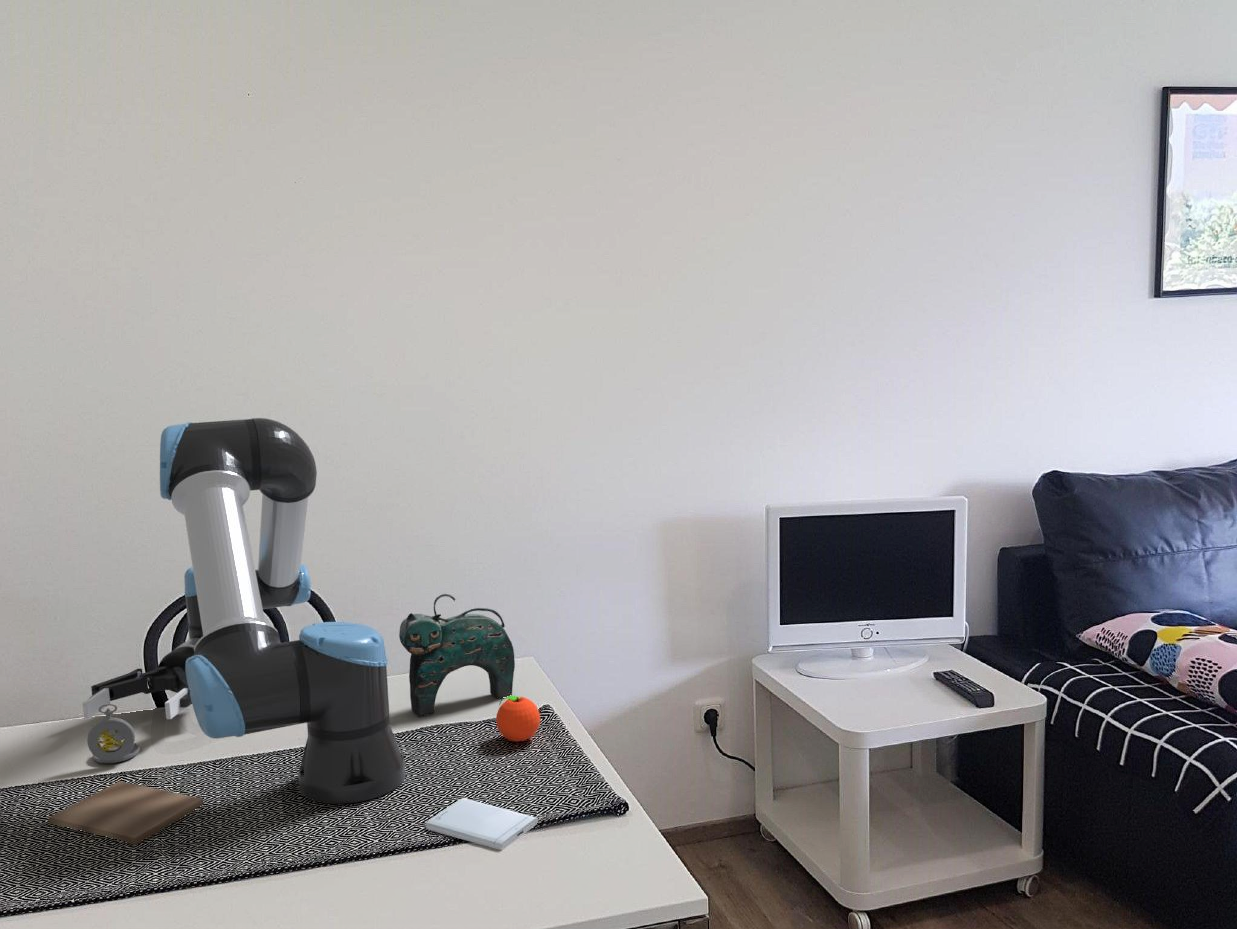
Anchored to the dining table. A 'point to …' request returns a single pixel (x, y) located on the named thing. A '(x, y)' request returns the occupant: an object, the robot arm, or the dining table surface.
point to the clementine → (518, 718)
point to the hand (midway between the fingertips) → (126, 711)
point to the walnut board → (126, 812)
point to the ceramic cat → (455, 653)
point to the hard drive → (481, 823)
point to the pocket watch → (112, 739)
